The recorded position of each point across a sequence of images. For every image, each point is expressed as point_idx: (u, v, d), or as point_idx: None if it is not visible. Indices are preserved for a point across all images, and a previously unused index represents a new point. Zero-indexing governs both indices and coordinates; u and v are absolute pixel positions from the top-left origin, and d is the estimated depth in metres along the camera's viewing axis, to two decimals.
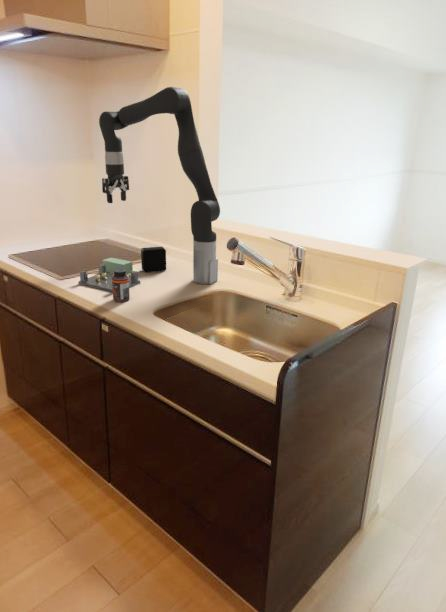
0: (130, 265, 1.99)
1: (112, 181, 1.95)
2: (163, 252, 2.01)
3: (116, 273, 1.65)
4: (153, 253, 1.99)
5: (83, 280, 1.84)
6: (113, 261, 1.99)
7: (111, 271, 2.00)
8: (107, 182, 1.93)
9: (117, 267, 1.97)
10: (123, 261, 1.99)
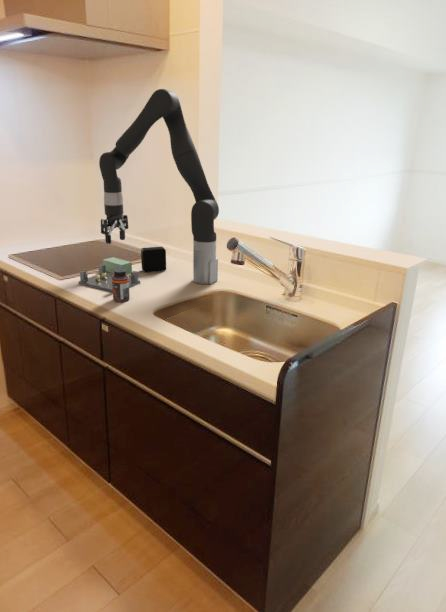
0: (129, 266, 1.98)
1: (111, 222, 1.90)
2: (163, 252, 2.01)
3: (116, 273, 1.65)
4: (153, 253, 1.99)
5: (83, 280, 1.84)
6: (113, 261, 1.99)
7: (111, 271, 2.00)
8: (106, 223, 1.88)
9: (116, 267, 1.97)
10: (123, 262, 1.99)
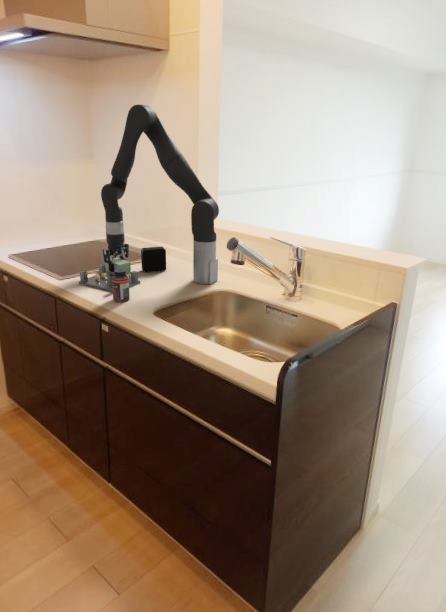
0: (128, 266, 1.97)
1: (112, 251, 1.95)
2: (163, 252, 2.01)
3: (116, 273, 1.65)
4: (153, 253, 1.99)
5: (83, 280, 1.84)
6: None
7: None
8: (108, 253, 1.92)
9: (114, 267, 1.97)
10: (122, 261, 1.98)
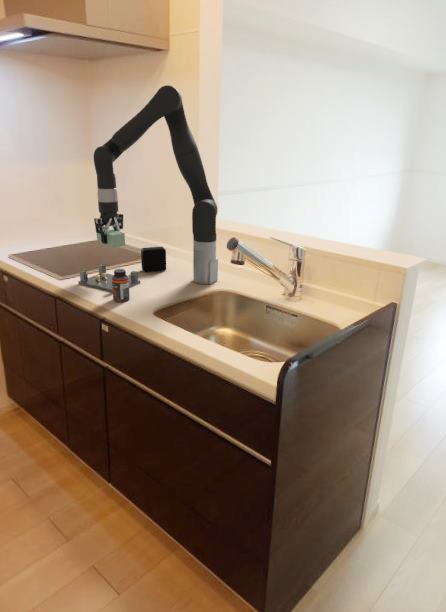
0: (122, 237, 1.83)
1: (105, 220, 1.81)
2: (163, 252, 2.01)
3: (116, 273, 1.65)
4: (153, 253, 1.99)
5: (83, 280, 1.84)
6: None
7: None
8: (100, 222, 1.78)
9: (107, 238, 1.83)
10: (115, 232, 1.84)
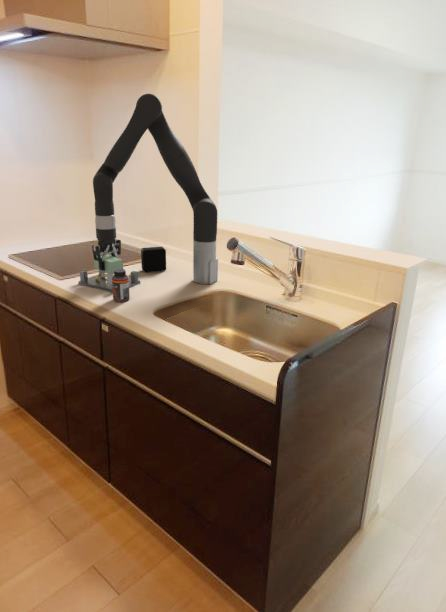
0: (120, 263, 1.80)
1: (103, 247, 1.78)
2: (163, 252, 2.01)
3: (116, 273, 1.65)
4: (153, 253, 1.99)
5: (83, 280, 1.84)
6: None
7: None
8: (98, 250, 1.75)
9: (105, 264, 1.80)
10: (113, 259, 1.81)
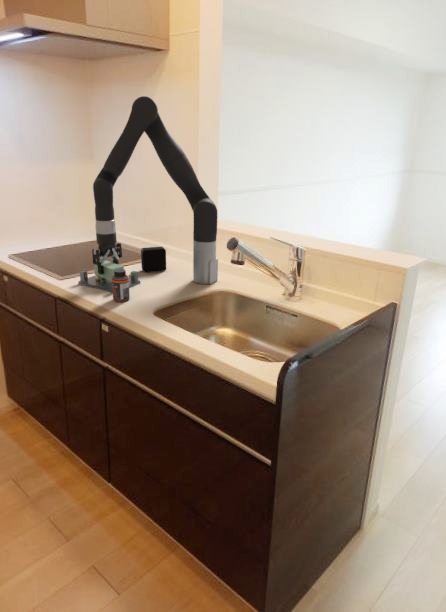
0: None
1: (103, 251, 1.78)
2: (163, 252, 2.01)
3: (116, 273, 1.65)
4: (153, 253, 1.99)
5: (83, 280, 1.84)
6: (104, 264, 1.83)
7: (101, 275, 1.84)
8: (98, 253, 1.76)
9: (106, 271, 1.81)
10: (114, 265, 1.82)
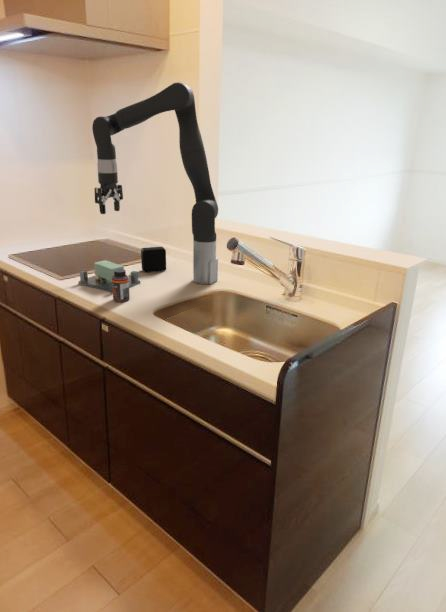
0: None
1: (105, 191, 1.83)
2: (163, 252, 2.01)
3: (116, 273, 1.65)
4: (153, 253, 1.99)
5: (83, 280, 1.84)
6: (104, 264, 1.83)
7: (101, 275, 1.84)
8: (100, 192, 1.80)
9: (106, 271, 1.81)
10: (114, 265, 1.82)
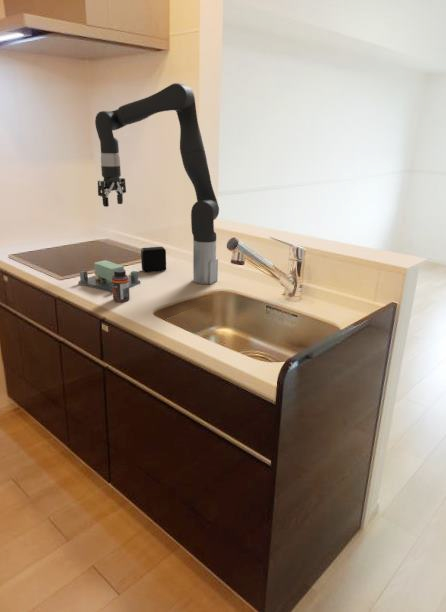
0: None
1: (108, 184, 1.87)
2: (163, 252, 2.01)
3: (116, 273, 1.65)
4: (153, 253, 1.99)
5: (83, 280, 1.84)
6: (104, 264, 1.83)
7: (101, 275, 1.84)
8: (103, 185, 1.85)
9: (106, 271, 1.81)
10: (114, 265, 1.82)
